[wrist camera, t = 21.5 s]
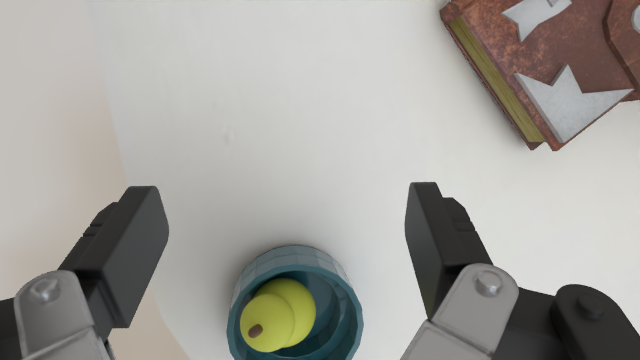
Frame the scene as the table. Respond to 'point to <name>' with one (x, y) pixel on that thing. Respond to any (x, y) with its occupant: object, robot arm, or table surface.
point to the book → (551, 59)
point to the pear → (278, 315)
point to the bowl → (329, 296)
